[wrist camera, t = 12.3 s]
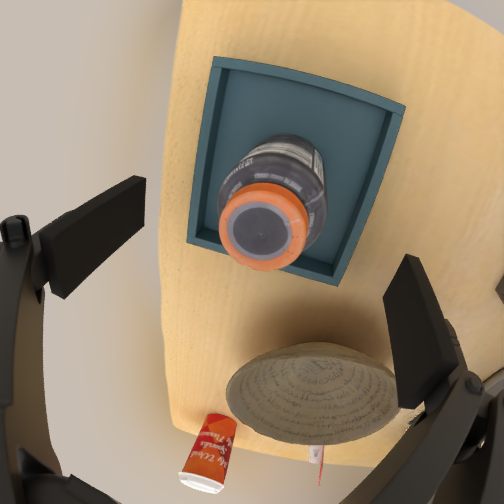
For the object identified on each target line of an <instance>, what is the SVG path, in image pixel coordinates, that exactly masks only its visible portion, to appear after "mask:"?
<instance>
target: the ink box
mask: <svg viewBox="0 0 504 504" xmlns="http://www.w3.org/2000/svg"><path fill="white" fill-rule="evenodd" d="M309 449H310V450H309V451H310V463H321V468H320V476H319V485H320V480H321V475H322V469H323V457H324V445H315V446H310V448H309Z"/></svg>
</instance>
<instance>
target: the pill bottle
mask: <svg viewBox="0 0 504 504" xmlns="http://www.w3.org/2000/svg"><path fill="white" fill-rule="evenodd" d="M217 211H218V216H219V219H220V220H219V236H220V239H221V242H222V244H223V246H224V248H225V250H226V251H227V252H228V254H229V255H230V256H231V257H232V258H233V259H235V260H236V261H237V262H238V263H240V264H242V265H243V266H246V267H248V268H251V269H254V270H260V271H272V270H277V269H281V268H283V267H286V266H287V265H289V264H291V263H292V262H293V261H295V260H296V259H297V258H298V256H299V255H300V254H301V252H303V251H304V250H306V249H307V248H308V247H310V246H311V245H312V244H313V243H314V242H315V241H316V240H317V238H318V237H319V236H320V234H321V232H322V230H323V228H324V226H325V223H326V219H327V212H328V205H327V186H326V178H325V167H324V162H323V160H322V157H321V155H320V153H319V151H318V150H317V149H316V148H315V146H314V145H313V144H312V143H310V142H309V141H308V140H306V139H304V138H302V137H300V136H297V135H292V134H278V135H274V136H271V137H269V138H267V139H265V140H264V141H262V142H261V143H259V144H258V145H257V146H256V147H255V148H253V149H252V150H251V151H250V152H249V153H248V154H247V155H246V156H245V157H244V158H243V159H242V160H241V161H240V162H239V163H238V164H237V165H235V166H234V167H233V168H232V170H231V171H230V172H229V173H228V174H227V176H226V177H225V178H224V180H223V182H222V184H221V186H220V189H219V193H218V198H217Z"/></svg>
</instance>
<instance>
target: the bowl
mask: <svg viewBox="0 0 504 504" xmlns="http://www.w3.org/2000/svg"><path fill="white" fill-rule="evenodd" d="M226 400H227V403H228V406H229V408H230V410H231V412H232V413H233V414H234V415H235V416H236V417H237V418H238V419H239V420H240V421H241V422H242V423H243V424H245V425H247V426H249V427H251V428H253V430H254V431H255V432H257V433H259V434H262V435H264V436H268V437H271V438H273V439H275V440H278V441H282V442H286V443H291V444H301V445H310V446H315V445H335V444H340V443H345V442H349V441H354V440H357V439H360V438H363V437H366V436H368V435H370V434H372V433H374V432H376V431H378V430H380V429H381V428H383V427H384V426H386V425H387V424H388V423H389V422H390V421H391V420H392V419H394V418H395V416H396V415H397V414H398V412H399V411H400V409H401V408H398V399H397V389H396V379H395V375H394V374H393V373H392V372H391V371H390V370H389V369H388V368H387V367H385V366H384V365H383V364H381V363H380V362H378V361H377V360H375V359H373V358H371V357H369V356H367V355H365V354H362V353H360V352H358V351H355V350H353V349H350V348H348V347H345V346H342V345H339V344H334V343H327V342H308V343H302V344H296V345H293V346H289V347H285V348H281V349H277V350H274V351H271V352H268V353H265V354H263V355H260V356H258V357H257V358H255V359H253V360H251V361H250V362H248V363H247V364H245V365H244V366H242V367H241V368H240V369H239V370H238V371H237V372H236V373H235V374H234V375H233V376H232V378H231V379H230V381H229V383H228V385H227V388H226Z"/></svg>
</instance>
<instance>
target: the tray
mask: <svg viewBox="0 0 504 504" xmlns="http://www.w3.org/2000/svg"><path fill="white" fill-rule="evenodd" d="M405 108H406V106H405V105H402V104H400V103H397V102H395V101H392V100H390V99H387V98H385V97H382V96H379V95H377V94H374V93H371V92H368V91H366V90H363V89H360V88H357V87H354V86H351V85H348V84H344V83H341V82H338V81H335V80H331V79H328V78H324V77H321V76H317V75H313V74H309V73H305V72H301V71H297V70H293V69H288V68H284V67H279V66H274V65H269V64H264V63H258V62H253V61H247V60H240V59H233V58H226V57H217V56H214V57H213V62H212V67H211V72H210V77H209V82H208V87H207V93H206V98H205V104H204V110H203V116H202V122H201V128H200V135H199V141H198V148H197V155H196V162H195V169H194V177H193V185H192V193H191V202H190V211H189V220H188V230H187V240H186V242H187V243H189V244H193V245H196V246H200V247H203V248H206V249H210V250H213V251H216V252H220V253H223V254H227V255H229V254H228V252H227V251H226V250H225V248H224V246H223V244H222V242H221V239H220V236H219V220H220V219H219V216H218V211H217V198H218V193H219V189H220V186H221V184H222V182H223V180H224V178H225V177H226V176H227V174H228V173H229V172H230V171H231V170H232V168H233V167H234V166H235V165H237V164H238V163H239V162H240V161H241V160H242V159H243V158H244V157H245V156H246V155H247V154H248V153H249V152H250V151H251V150H252V149H253V148H255V147H256V146H257V145H258V144H259V143H261V142H262V141H264V140H265V139H267V138H269V137H271V136H274V135H278V134H292V135H297V136H300V137H302V138H304V139H306V140H308V141H309V142H310V143H312V144H313V145H314V146H315V148H316V149H317V150H318V151H319V153H320V155H321V157H322V160H323V162H324V167H325V178H326V186H327V205H328V212H327V219H326V223H325V226H324V228H323V230H322V232H321V234H320V236H319V237H318V238H317V240H316V241H315V242H314V243H313V244H312V245H311V246H310V247H308V248H307V249H306V250H304V251H303V252H301V254H300V255H299V256H298V258H297V259H296V260H295V261H293V262H292V263H291V264H289V265H287V266H286V267H283V268H281V269H278V270H281V271H285V272H288V273H292V274H295V275H299V276H302V277H305V278H309V279H312V280H316V281H319V282H323V283H326V284H330V285H333V286H337V287H338V285H339V283H340V281H341V279H342V277H343V275H344V272H345V270H346V268H347V266H348V263H349V261H350V259H351V257H352V254H353V252H354V250H355V247H356V245H357V243H358V240H359V238H360V236H361V233H362V231H363V228H364V226H365V223H366V221H367V218H368V216H369V213H370V211H371V208H372V206H373V203H374V201H375V198H376V195H377V193H378V190H379V187H380V185H381V182H382V179H383V176H384V173H385V171H386V168H387V165H388V162H389V159H390V156H391V153H392V150H393V147H394V144H395V141H396V138H397V135H398V132H399V128H400V125H401V122H402V118H403V115H404V111H405Z"/></svg>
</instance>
